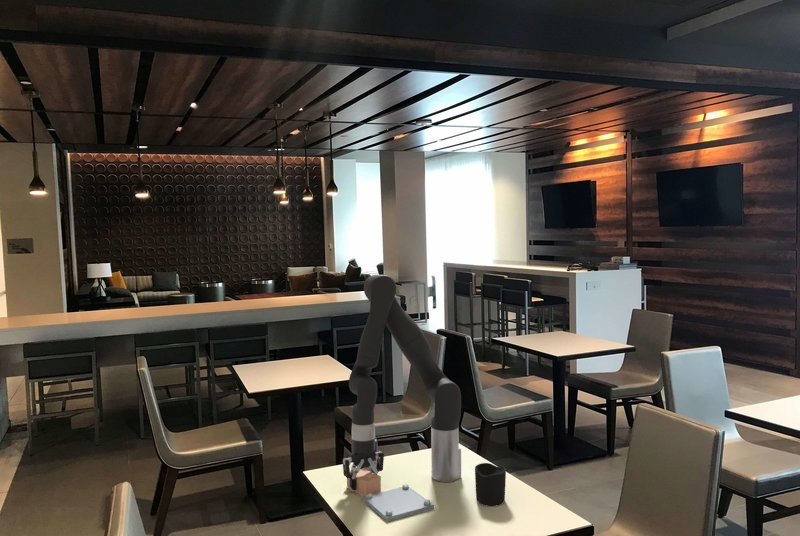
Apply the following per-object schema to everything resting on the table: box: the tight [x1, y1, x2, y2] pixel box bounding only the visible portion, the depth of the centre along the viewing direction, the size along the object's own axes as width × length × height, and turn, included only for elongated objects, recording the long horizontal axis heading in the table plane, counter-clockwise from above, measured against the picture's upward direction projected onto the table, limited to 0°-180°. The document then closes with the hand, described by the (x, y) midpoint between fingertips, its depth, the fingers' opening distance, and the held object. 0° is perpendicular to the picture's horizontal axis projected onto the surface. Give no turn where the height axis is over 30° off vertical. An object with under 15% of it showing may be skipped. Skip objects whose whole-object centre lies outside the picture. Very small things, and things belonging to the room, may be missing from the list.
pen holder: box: [474, 462, 507, 507], centre depth 181 cm, size 9×9×10 cm
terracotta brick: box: [346, 469, 382, 497], centre depth 190 cm, size 10×6×5 cm, turn 42°
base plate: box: [362, 484, 435, 522], centre depth 179 cm, size 16×16×2 cm
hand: (363, 486), depth 190 cm, fingers closed on terracotta brick, 6 cm apart
